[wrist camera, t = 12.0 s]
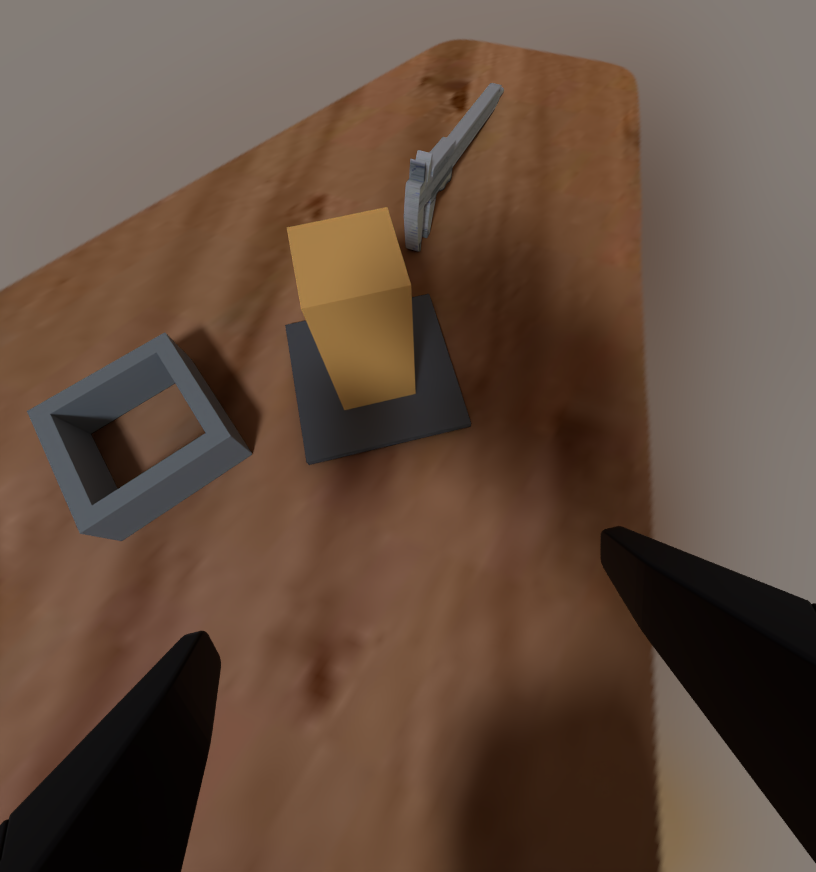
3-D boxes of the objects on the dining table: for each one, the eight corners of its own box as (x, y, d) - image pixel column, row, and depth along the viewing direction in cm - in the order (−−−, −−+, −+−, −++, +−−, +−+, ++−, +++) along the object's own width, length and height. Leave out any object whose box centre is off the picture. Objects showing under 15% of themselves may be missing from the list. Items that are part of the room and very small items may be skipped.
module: (415, 393, 25) (411, 285, 16) (344, 410, 25) (300, 308, 16) (399, 334, 27) (387, 207, 18) (332, 349, 27) (286, 227, 18)
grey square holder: (252, 454, 25) (230, 436, 22) (121, 541, 23) (79, 533, 20) (191, 359, 27) (165, 332, 25) (70, 431, 26) (27, 411, 23)
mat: (470, 426, 25) (471, 423, 24) (308, 464, 24) (306, 462, 24) (429, 298, 29) (429, 293, 28) (287, 329, 28) (285, 325, 28)
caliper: (419, 258, 30) (417, 177, 24) (405, 254, 30) (401, 173, 25) (503, 95, 37) (518, 0, 31) (491, 92, 37) (504, -2, 31)
